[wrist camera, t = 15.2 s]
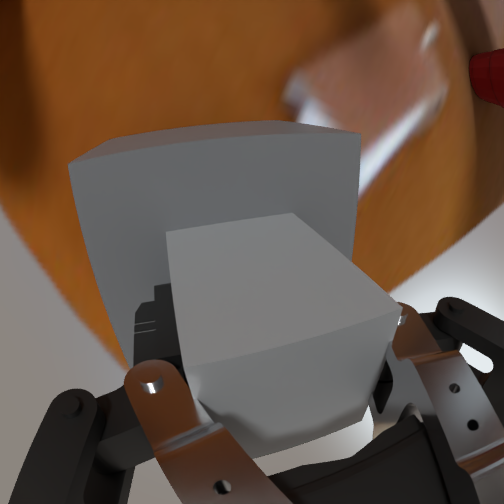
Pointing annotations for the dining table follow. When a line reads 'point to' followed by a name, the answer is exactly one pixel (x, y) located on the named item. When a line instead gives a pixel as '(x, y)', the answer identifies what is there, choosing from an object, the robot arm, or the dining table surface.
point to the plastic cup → (488, 76)
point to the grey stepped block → (243, 269)
